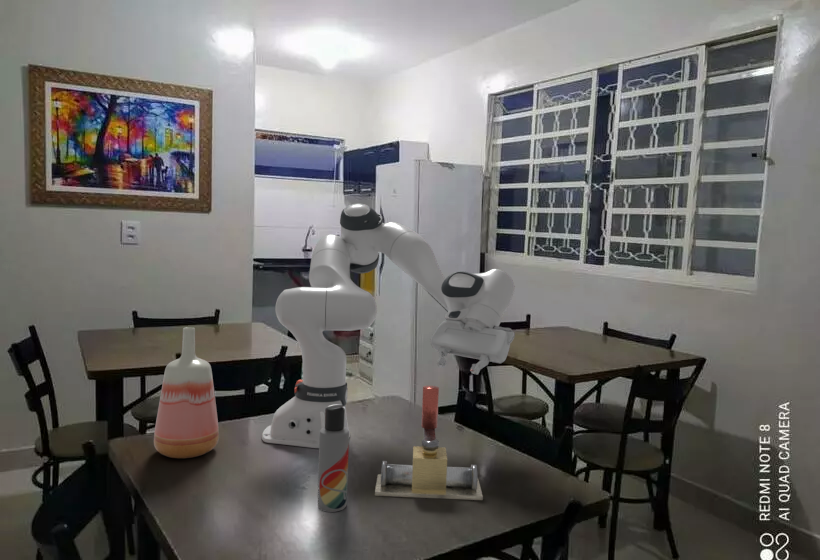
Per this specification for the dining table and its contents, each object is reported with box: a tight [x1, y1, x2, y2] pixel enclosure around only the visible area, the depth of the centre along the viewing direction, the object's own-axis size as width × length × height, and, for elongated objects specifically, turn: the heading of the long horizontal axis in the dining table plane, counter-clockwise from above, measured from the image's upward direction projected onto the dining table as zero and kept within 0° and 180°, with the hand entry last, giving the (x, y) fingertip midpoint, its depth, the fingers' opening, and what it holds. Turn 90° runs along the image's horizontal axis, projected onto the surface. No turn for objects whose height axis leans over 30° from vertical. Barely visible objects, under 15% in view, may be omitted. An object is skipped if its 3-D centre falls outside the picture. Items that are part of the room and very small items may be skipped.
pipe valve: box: [374, 445, 484, 501], centre depth 127 cm, size 22×9×9 cm, turn 89°
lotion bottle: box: [317, 405, 350, 513], centre depth 117 cm, size 6×6×20 cm
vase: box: [153, 326, 220, 459], centre depth 142 cm, size 14×14×30 cm
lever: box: [420, 385, 440, 450], centre depth 132 cm, size 14×4×10 cm, turn 179°
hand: (456, 369), depth 143 cm, fingers open, 8 cm apart
